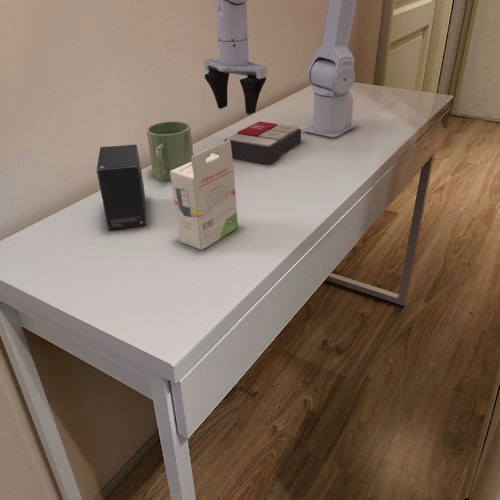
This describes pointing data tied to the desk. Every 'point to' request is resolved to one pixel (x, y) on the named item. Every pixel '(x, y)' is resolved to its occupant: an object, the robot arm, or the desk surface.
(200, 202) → the ink box
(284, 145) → the calculator
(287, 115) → the desk surface
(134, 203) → the small box
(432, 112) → the desk surface
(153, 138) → the mug
